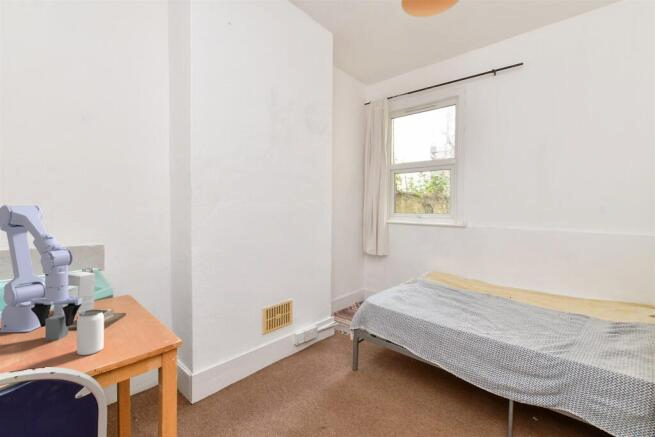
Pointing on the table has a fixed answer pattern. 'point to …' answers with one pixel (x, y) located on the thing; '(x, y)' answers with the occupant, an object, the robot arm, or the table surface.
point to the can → (90, 332)
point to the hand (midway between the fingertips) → (57, 325)
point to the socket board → (108, 318)
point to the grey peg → (55, 327)
